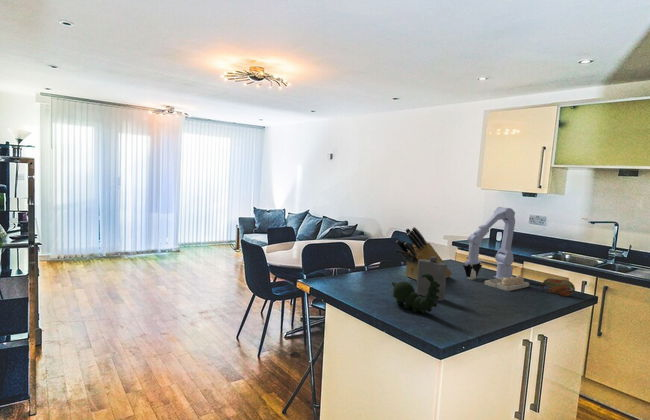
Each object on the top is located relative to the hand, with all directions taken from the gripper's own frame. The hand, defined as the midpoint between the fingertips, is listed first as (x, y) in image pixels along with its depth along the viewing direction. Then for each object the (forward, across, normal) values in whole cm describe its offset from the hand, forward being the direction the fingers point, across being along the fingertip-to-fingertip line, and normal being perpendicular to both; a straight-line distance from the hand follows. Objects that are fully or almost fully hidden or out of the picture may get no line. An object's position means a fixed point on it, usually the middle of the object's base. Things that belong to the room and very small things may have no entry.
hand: (471, 276), depth 235 cm
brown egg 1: (+1, +3, +23) cm, 24 cm away
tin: (+2, -16, +42) cm, 45 cm away
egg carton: (+1, -4, +20) cm, 20 cm away
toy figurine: (+2, +77, +23) cm, 80 cm away
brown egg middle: (+1, -4, +23) cm, 24 cm away
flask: (+2, +54, +14) cm, 56 cm away
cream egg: (+2, 0, 0) cm, 2 cm away
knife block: (+2, +28, -14) cm, 31 cm away
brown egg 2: (+1, -11, +23) cm, 26 cm away
